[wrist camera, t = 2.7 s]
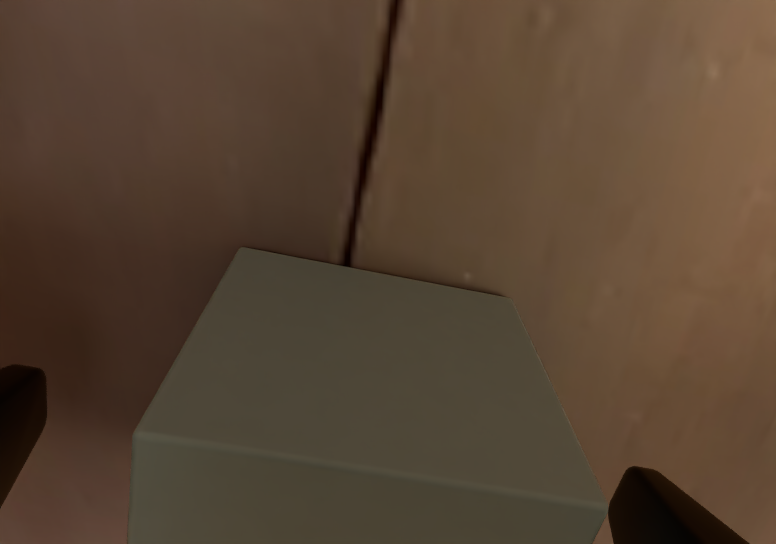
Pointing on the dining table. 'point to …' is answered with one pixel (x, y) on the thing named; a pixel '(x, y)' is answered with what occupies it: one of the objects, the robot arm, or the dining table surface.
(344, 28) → the dining table surface
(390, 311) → the gray block
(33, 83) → the dining table surface
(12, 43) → the dining table surface
